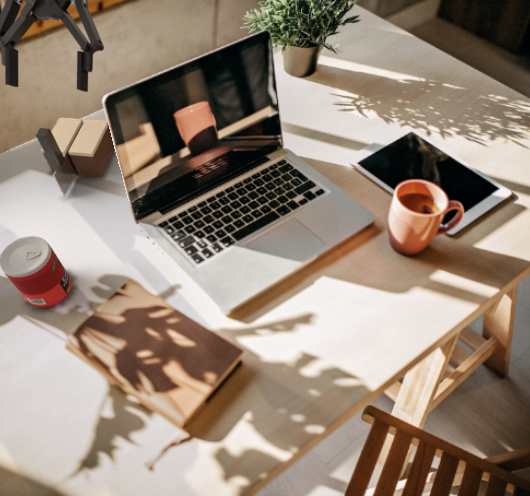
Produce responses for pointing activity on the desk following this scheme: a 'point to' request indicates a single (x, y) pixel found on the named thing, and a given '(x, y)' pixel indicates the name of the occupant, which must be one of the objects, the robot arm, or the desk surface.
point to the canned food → (36, 271)
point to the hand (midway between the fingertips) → (46, 88)
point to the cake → (84, 145)
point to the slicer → (56, 160)
